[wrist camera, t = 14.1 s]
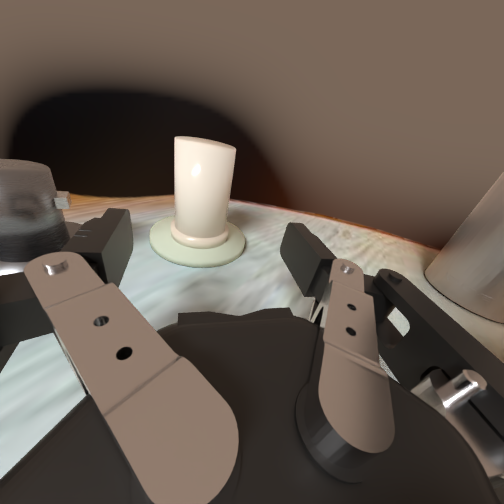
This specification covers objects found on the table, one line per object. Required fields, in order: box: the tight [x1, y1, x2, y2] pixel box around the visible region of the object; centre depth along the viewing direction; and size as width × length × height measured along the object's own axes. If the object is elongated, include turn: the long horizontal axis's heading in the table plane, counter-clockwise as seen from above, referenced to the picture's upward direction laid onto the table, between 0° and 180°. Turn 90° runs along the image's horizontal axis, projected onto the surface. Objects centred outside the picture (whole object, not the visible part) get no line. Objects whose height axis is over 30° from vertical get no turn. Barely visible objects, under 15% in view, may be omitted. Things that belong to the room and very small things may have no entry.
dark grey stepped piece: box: [0, 159, 82, 275], centre depth 15 cm, size 8×8×7 cm
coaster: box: [149, 215, 245, 268], centre depth 24 cm, size 10×10×1 cm
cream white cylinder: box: [171, 136, 236, 249], centre depth 21 cm, size 6×6×9 cm
